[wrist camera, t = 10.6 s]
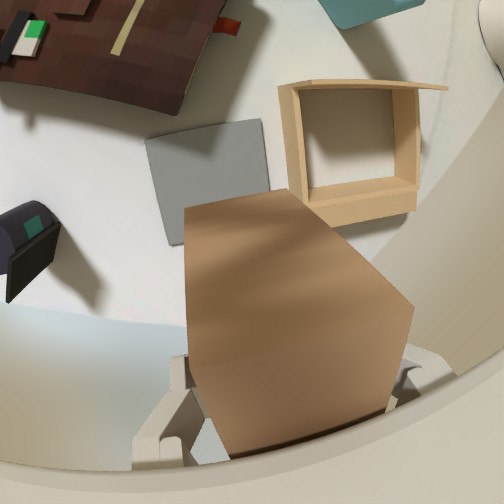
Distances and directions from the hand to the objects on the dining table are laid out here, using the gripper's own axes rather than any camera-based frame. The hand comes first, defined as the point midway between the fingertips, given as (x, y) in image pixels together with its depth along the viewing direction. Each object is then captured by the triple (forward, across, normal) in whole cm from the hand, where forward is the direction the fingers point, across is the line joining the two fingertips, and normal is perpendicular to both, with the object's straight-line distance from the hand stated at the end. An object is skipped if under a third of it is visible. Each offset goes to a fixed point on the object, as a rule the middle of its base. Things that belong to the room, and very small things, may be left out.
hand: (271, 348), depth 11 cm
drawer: (+25, -16, -2) cm, 30 cm away
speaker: (+25, +22, 0) cm, 33 cm away
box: (+4, 0, 0) cm, 4 cm away
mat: (+25, 0, 0) cm, 25 cm away
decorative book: (+26, +9, -21) cm, 35 cm away
